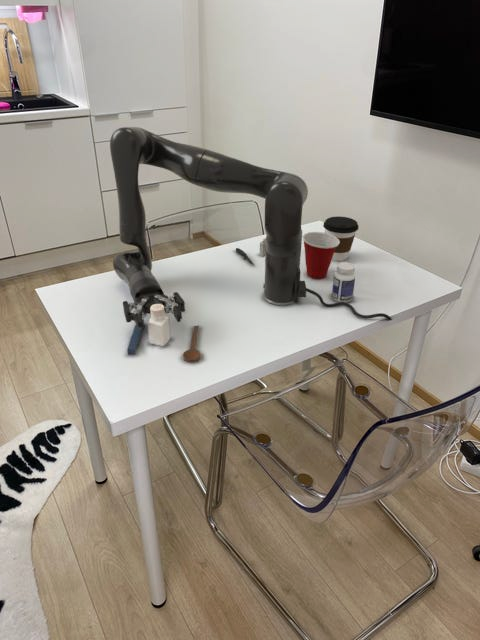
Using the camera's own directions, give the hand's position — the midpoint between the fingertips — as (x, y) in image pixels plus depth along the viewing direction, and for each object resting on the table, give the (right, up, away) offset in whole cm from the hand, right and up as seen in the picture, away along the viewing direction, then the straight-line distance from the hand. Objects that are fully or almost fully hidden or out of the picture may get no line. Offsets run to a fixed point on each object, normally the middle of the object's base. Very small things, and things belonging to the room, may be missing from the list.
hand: (160, 321), depth 112 cm
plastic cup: (+41, +14, +36) cm, 56 cm away
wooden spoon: (+7, -5, +4) cm, 10 cm away
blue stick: (-7, -4, +6) cm, 10 cm away
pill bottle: (+46, +6, +24) cm, 52 cm away
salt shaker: (-1, -5, +5) cm, 7 cm away
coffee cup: (+49, +21, +47) cm, 71 cm away
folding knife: (+19, +20, +45) cm, 53 cm away
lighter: (+27, +22, +49) cm, 61 cm away
